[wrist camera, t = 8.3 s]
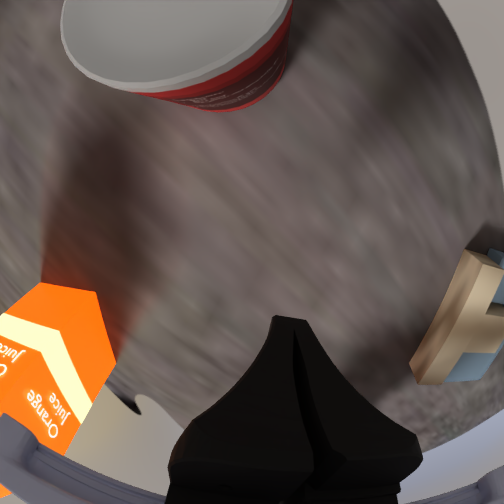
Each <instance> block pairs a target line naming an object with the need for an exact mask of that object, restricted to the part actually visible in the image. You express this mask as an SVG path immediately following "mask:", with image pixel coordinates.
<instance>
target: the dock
mask: <svg viewBox="0 0 504 504" xmlns="http://www.w3.org/2000/svg"><path fill="white" fill-rule="evenodd" d="M487 256H488V257H489V258H490V259H492V260H493V261H494V262H495V263H497V264H498V265H499V266H500V267H501V268H503V269H504V253H503V252H501V251H498V250H495V249H492V248H489V251H488V253H487ZM491 302H494V303H500V304H503V306H504V275H503V277H502V279H501V282H500V284H499V286H498V288H497V291H496V293H495V295H494V297H493V299H492V301H491ZM503 344H504V339H503V341H502V343H501V344H500V346H499V348H498V349H497V351H496V352H495V353H467V352H463V353H462V355H461V357H460V358H459V360H458V361H457V363H456V364H455V366H454V367H453V369H452V370H451V372H450V373H449V375H448V376H447V377H446V379H445V380H444V382H455V381H471V380H480V379H481V377H482V376H483V375H484V373H485V372H486V370H487V369H488V367H489V366H490V365H491V363H492V362H493V360H494V359H495V357H496V355H497V354H498V352H499V351H500V349H501V348H502V346H503Z"/></svg>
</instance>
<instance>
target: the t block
mask: <svg viewBox="0 0 504 504" xmlns="http://www.w3.org/2000/svg"><path fill="white" fill-rule="evenodd" d="M503 275H504V269H503V268H501V267H500V266H499V265H498V264H497V263H495V262H494V261H493V260H492V259H490V258H489V257H488V256H486V255H483V254H480V253H477V252H473V251H470V250H467V249H464V251H463V253H462V256H461V259H460V261H459V264H458V266H457V269H456V271H455V274H454V276H453V278H452V281H451V283H450V285H449V288H448V290H447V292H446V294H445V296H444V299H443V301H442V303H441V305H440V307H439V309H438V311H437V313H436V315H435V317H434V319H433V321H432V323H431V325H430V327H429V329H428V331H427V332H426V334H425V336H424V338H423V340H422V342H421V343H420V345H419V347H418V349H417V350H416V352H415V354H414V355H413V357H412V359H411V360H410V362H409V365H410V367H411V370H412V372H413V374H414V377H415V379H416V382H417V384H418V385H438V384H442V383H443V382H444V380H445V379H446V377H447V376H448V375H449V373H450V372H451V370H452V369H453V367H454V366H455V364H456V363H457V361H458V360H459V358H460V357H461V355H462V353H463V352H467V353H495V352H496V351H497V349H498V348H499V346H500V344H501V343H502V341H503V339H504V306H503V305H502V304H500V303H494V302H491V301H492V299H493V297H494V295H495V293H496V291H497V288H498V286H499V284H500V282H501V279H502V277H503Z"/></svg>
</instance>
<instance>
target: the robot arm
mask: <svg viewBox="0 0 504 504" xmlns="http://www.w3.org/2000/svg"><path fill="white" fill-rule="evenodd" d="M422 461H423V455H422V452H421V448H420V445H419V442H418V439H417V436H416V434H414V433H412V432H411V431H409V430H407V429H405V428H404V427H402V426H400V425H399V424H397V423H395V422H394V421H392V420H391V419H390V418H388V417H387V416H385V415H384V414H383V413H381V412H380V411H379V410H378V409H376V408H375V407H374V406H373V405H371V404H370V403H369V402H368V401H367V400H366V399H365V398H364V397H363V396H361V395H360V394H359V393H358V392H357V391H356V390H355V389H354V388H353V386H352V385H351V384H350V383H349V382H348V381H347V380H346V379H345V378H344V376H343V375H342V374H341V373H340V372H339V370H338V369H337V368H336V366H335V365H334V364H333V362H332V361H331V359H330V358H329V356H328V355H327V353H326V352H325V350H324V349H323V347H322V346H321V344H320V343H319V341H318V339H317V337H316V336H315V334H314V332H313V331H312V329H311V327H310V325H309V324H308V322H307V321H306V320H303V319H297V318H290V317H284V316H278V315H275V316H273V317H272V321H271V324H270V328H269V332H268V336H267V339H266V341H265V343H264V345H263V347H262V349H261V350H260V352H259V354H258V355H257V357H256V359H255V360H254V362H253V363H252V364H251V366H250V367H249V369H248V370H247V371H246V372H245V374H244V375H243V376H242V377H241V378H240V380H239V381H238V382H237V383H236V384H235V385H234V386H233V387H232V388H231V389H230V390H229V391H228V392H227V393H226V394H225V395H224V396H223V397H222V398H221V399H219V400H218V401H217V402H216V403H215V404H214V405H212V406H211V407H210V408H209V409H207V410H206V411H204V412H203V413H202V414H200V415H199V416H197V417H196V418H195V419H193V420H192V421H191V423H190V424H189V425H188V427H187V428H186V429H185V430H184V432H183V433H182V435H181V436H180V438H179V439H178V441H177V442H176V444H175V446H174V448H173V450H172V453H171V456H170V460H169V464H168V472H169V478H170V485H169V489H168V493H167V496H163V495H159V494H156V493H152V492H149V491H146V490H143V489H140V488H137V487H133V486H131V485H128V484H125V483H123V482H120V481H118V480H115V479H112V478H110V477H108V476H105V475H102V474H100V473H98V472H96V471H93V470H91V469H89V468H87V467H85V466H83V465H80V464H78V463H76V462H74V461H72V460H70V459H68V458H67V457H65V456H63V455H61V454H59V453H57V452H55V451H54V450H52V449H50V448H48V447H47V446H45V445H43V444H41V443H40V442H39V441H38V439H37V437H36V436H35V435H34V434H33V433H32V432H31V431H30V430H29V429H28V428H27V427H25V426H24V425H23V424H21V423H19V422H18V421H17V420H15V419H14V418H12V417H11V416H9V415H8V414H6V413H3V414H2V415H1V416H0V484H1V485H2V486H4V487H5V488H6V489H7V490H9V491H10V492H11V493H13V494H14V495H16V496H17V497H18V498H20V499H21V500H23V501H24V502H26V503H27V504H398V500H397V494H398V493H399V492H400V490H401V488H400V482H401V481H402V480H404V479H405V478H406V477H407V476H409V475H410V474H411V473H412V472H414V471H415V470H416V469H417V468H418V467H419V466H420V464H421V462H422ZM407 504H504V465H503V466H502V467H499V468H497V469H495V470H492V471H491V472H489V473H487V474H486V475H485V476H483V477H482V478H480V479H479V480H478V482H476V483H473V484H470V485H468V486H465V487H462V488H459V489H456V490H454V491H450V492H447V493H444V494H441V495H437V496H434V497H430V498H427V499H423V500H419V501H415V502H411V503H407Z"/></svg>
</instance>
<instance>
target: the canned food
mask: <svg viewBox="0 0 504 504" xmlns="http://www.w3.org/2000/svg"><path fill="white" fill-rule="evenodd" d="M292 7H293V0H65V2H64V5H63V8H62V14H61V22H60V28H61V39H62V42H63V45H64V48H65V51H66V54H67V55H68V57H69V58H70V60H71V61H72V62H73V64H74V65H75V67H77V68H78V69H79V70H80V71H81V72H83V73H84V74H85V75H86V76H88V77H89V78H92V79H94V80H96V81H98V82H100V83H103V84H105V85H108V86H110V87H112V88H116V89H120V90H125V91H128V92H132V93H136V94H140V95H145V96H149V97H153V98H158V99H162V100H166V101H170V102H174V103H178V104H182V105H186V106H190V107H193V108H197V109H200V110H204V111H211V112H230V111H235V110H239V109H243V108H245V107H248V106H250V105H253V104H255V103H256V102H258V101H259V100H261V99H262V98H264V97H265V96H266V95H267V94H268V93H269V92H270V91H271V90H272V89H273V88H274V87H275V85H276V84H277V82H278V81H279V80H280V77H281V75H282V72H283V70H284V66H285V59H286V52H287V45H288V37H289V30H290V22H291V15H292Z"/></svg>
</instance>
